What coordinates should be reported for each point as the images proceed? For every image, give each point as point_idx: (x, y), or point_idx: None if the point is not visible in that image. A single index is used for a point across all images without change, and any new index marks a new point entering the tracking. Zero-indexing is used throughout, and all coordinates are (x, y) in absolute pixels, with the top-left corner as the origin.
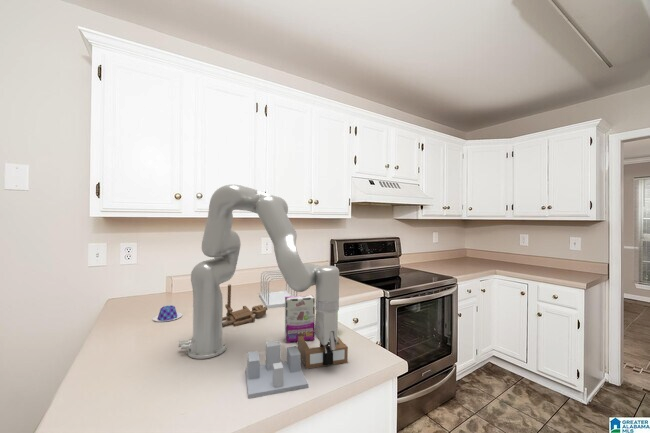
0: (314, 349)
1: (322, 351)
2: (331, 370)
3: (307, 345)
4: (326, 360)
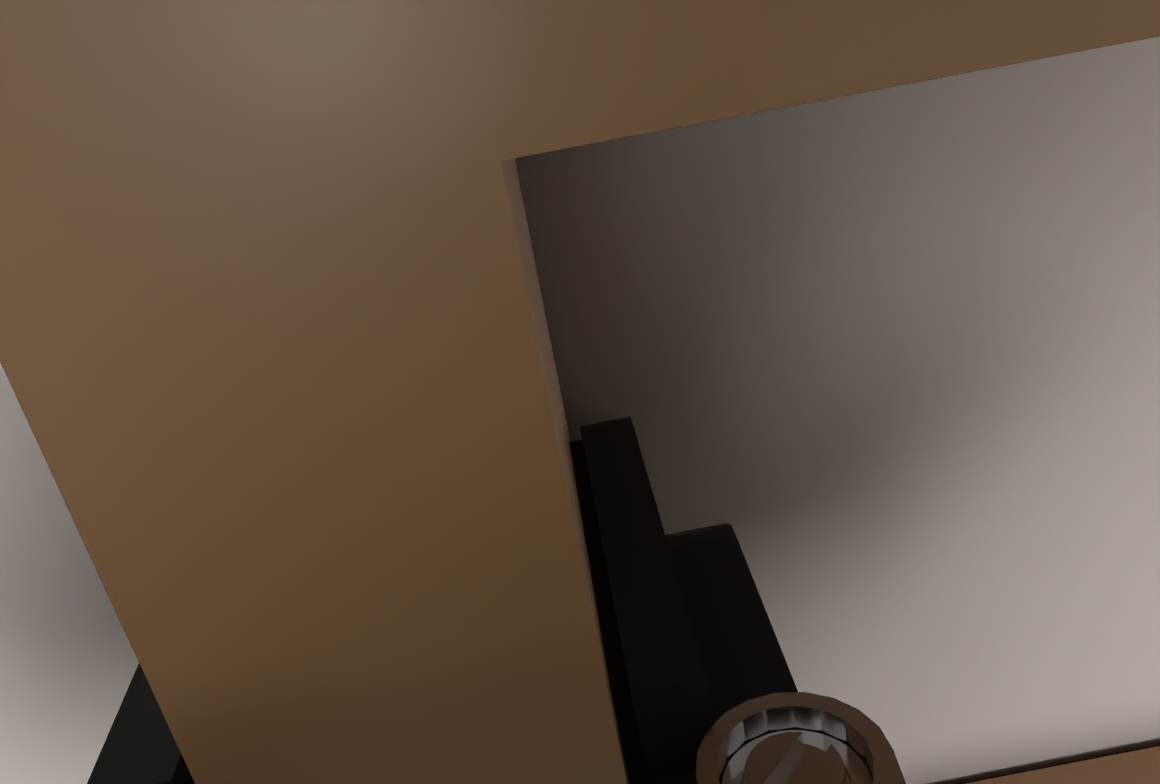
0: (320, 456)
1: (227, 770)
2: (108, 630)
3: (961, 51)
4: (139, 679)
